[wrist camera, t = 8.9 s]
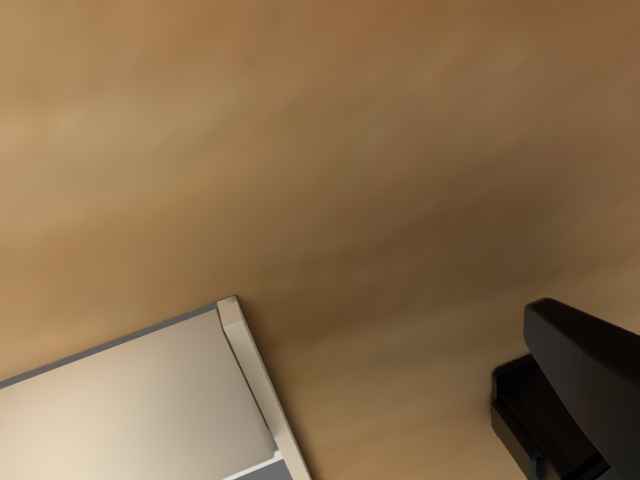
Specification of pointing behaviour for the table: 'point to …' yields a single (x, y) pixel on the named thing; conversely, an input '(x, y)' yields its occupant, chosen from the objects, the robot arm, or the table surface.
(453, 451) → the table surface
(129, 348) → the lane
